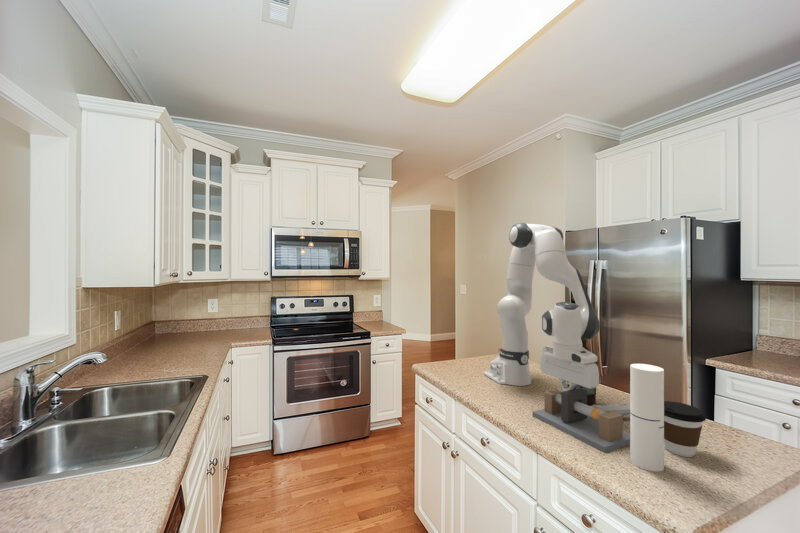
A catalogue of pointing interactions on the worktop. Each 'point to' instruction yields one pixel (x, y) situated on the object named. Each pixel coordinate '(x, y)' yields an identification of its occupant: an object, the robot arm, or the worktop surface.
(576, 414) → the collar
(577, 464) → the worktop surface
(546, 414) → the pipe stand
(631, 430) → the cylindrical container
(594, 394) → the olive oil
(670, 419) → the coffee cup
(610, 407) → the electric toothbrush
